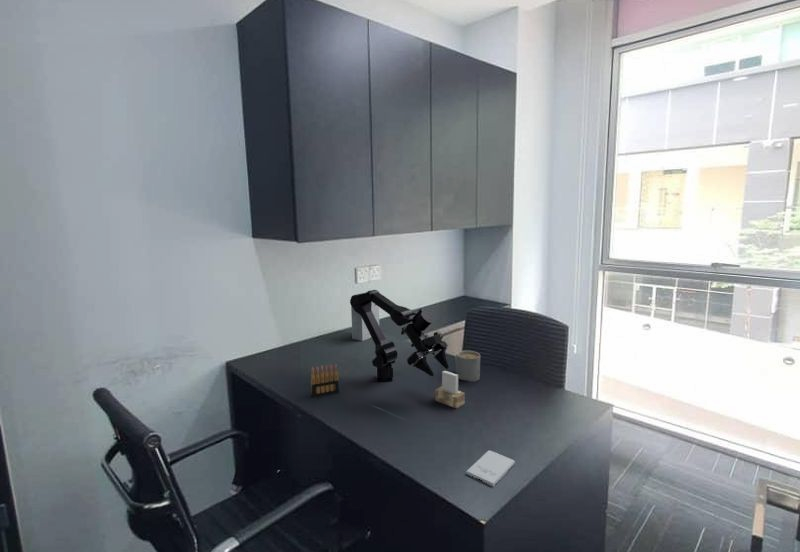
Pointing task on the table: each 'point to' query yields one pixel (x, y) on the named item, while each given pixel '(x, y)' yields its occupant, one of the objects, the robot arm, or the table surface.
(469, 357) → the coffee mug
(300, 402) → the table surface
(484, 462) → the external hard drive
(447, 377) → the cover plate
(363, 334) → the hard drive box
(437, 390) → the oak box
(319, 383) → the ammunition clip
